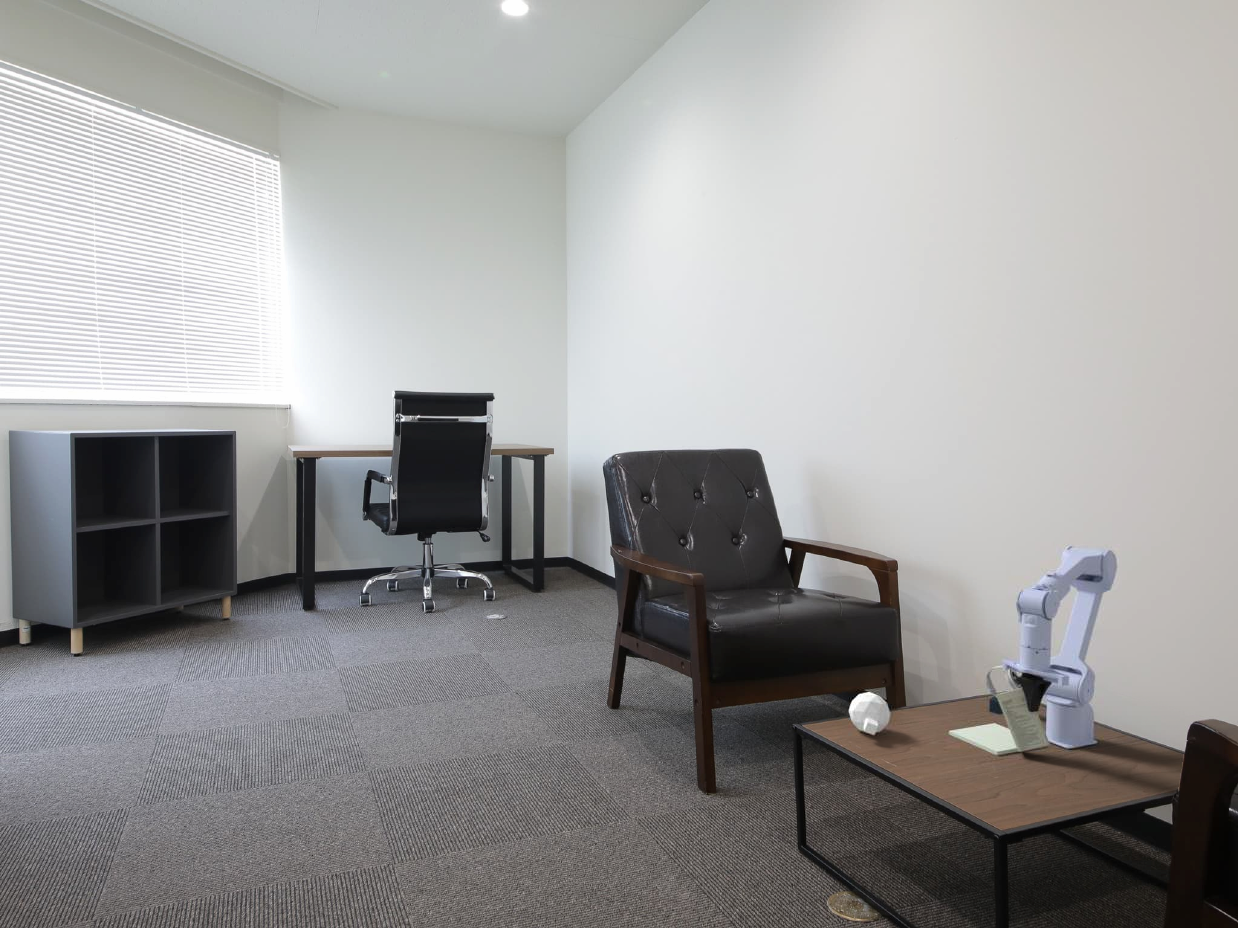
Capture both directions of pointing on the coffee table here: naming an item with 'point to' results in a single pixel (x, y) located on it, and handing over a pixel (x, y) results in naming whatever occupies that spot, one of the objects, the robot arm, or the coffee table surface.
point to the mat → (988, 738)
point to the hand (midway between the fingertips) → (1033, 711)
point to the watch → (994, 702)
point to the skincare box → (1022, 721)
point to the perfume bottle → (869, 713)
